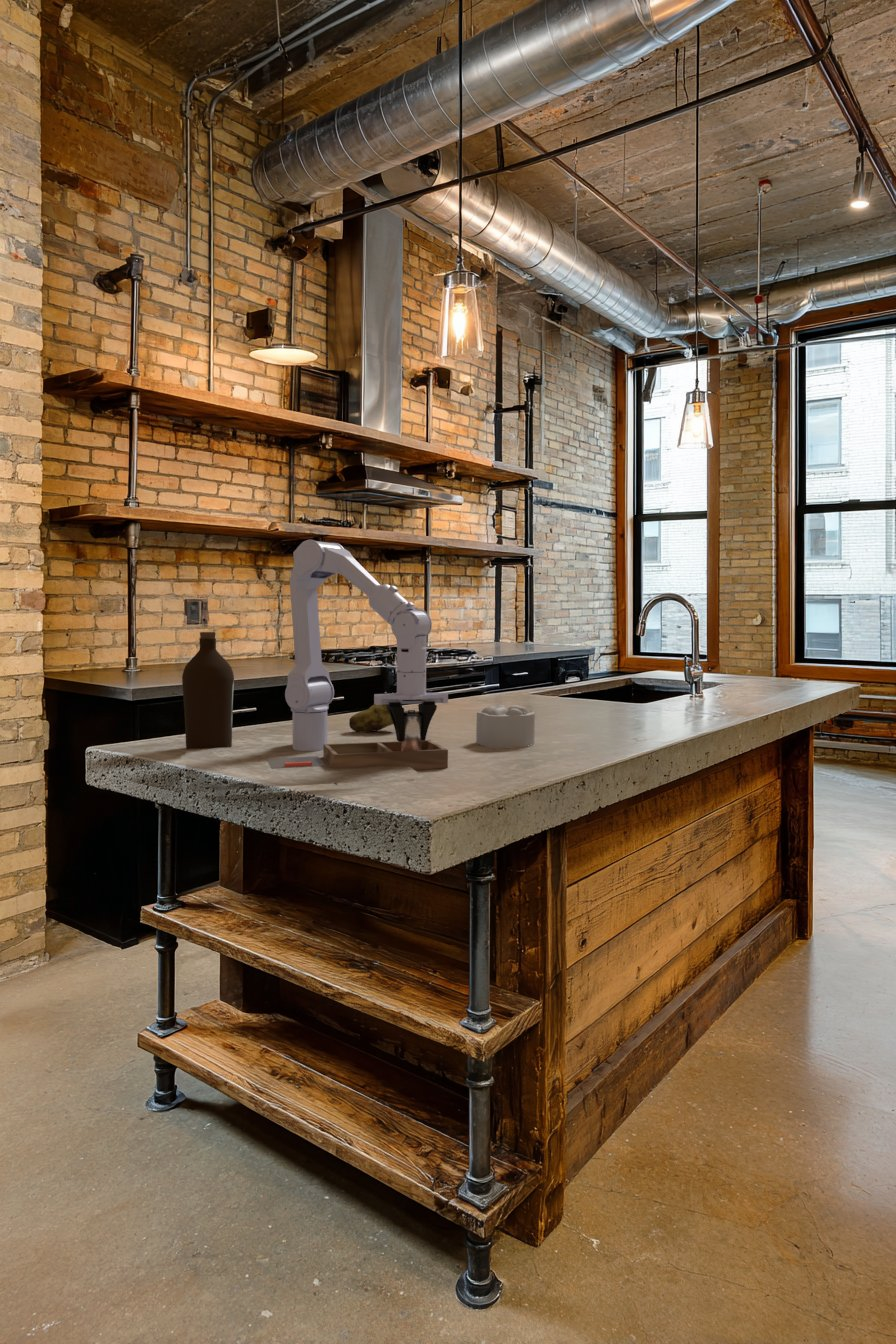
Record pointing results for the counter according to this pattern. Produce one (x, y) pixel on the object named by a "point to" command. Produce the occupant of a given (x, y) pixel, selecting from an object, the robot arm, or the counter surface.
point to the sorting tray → (385, 755)
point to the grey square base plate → (295, 762)
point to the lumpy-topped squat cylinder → (505, 727)
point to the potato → (371, 719)
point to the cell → (412, 730)
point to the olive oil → (208, 697)
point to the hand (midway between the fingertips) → (411, 740)
